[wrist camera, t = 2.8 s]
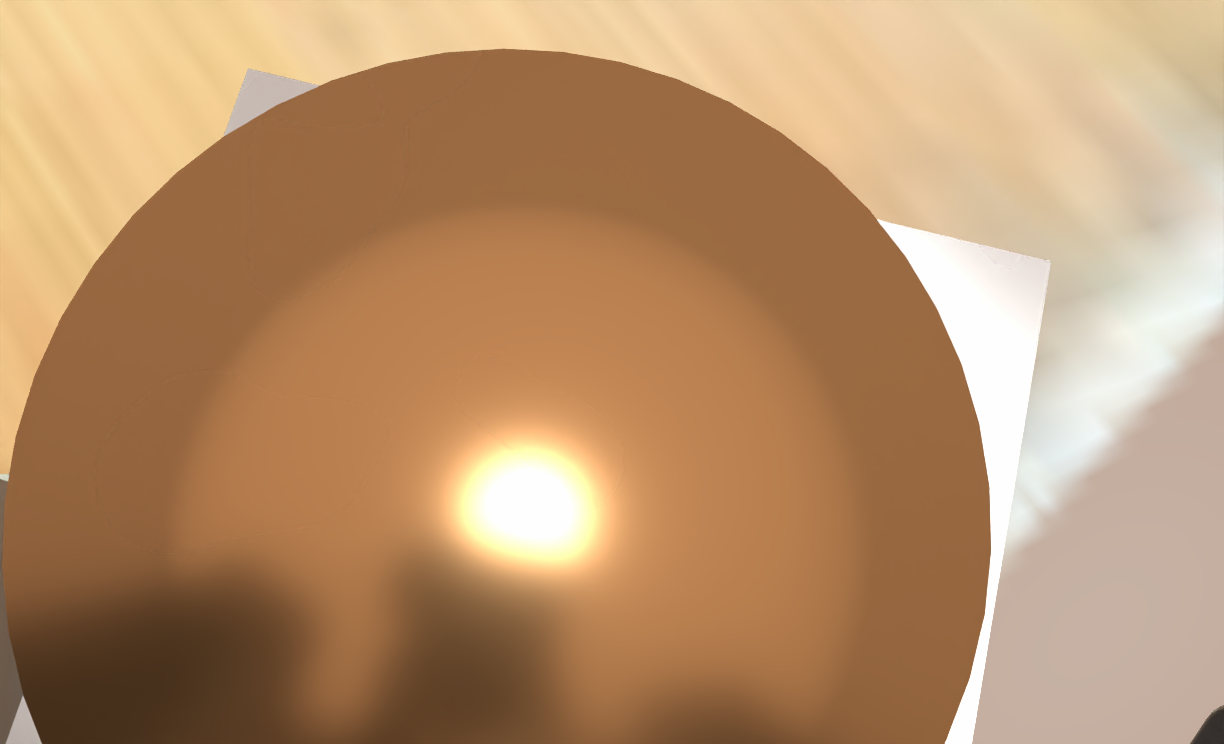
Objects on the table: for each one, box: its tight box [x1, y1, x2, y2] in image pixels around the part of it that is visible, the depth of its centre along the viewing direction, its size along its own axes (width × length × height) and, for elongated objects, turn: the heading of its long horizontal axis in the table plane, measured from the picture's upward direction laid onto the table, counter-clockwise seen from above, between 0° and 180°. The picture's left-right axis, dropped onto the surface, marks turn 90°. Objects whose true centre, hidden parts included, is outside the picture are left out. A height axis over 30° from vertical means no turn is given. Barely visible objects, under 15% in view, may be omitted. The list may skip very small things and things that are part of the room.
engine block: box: [2, 49, 1051, 744], centre depth 10 cm, size 5×5×12 cm
